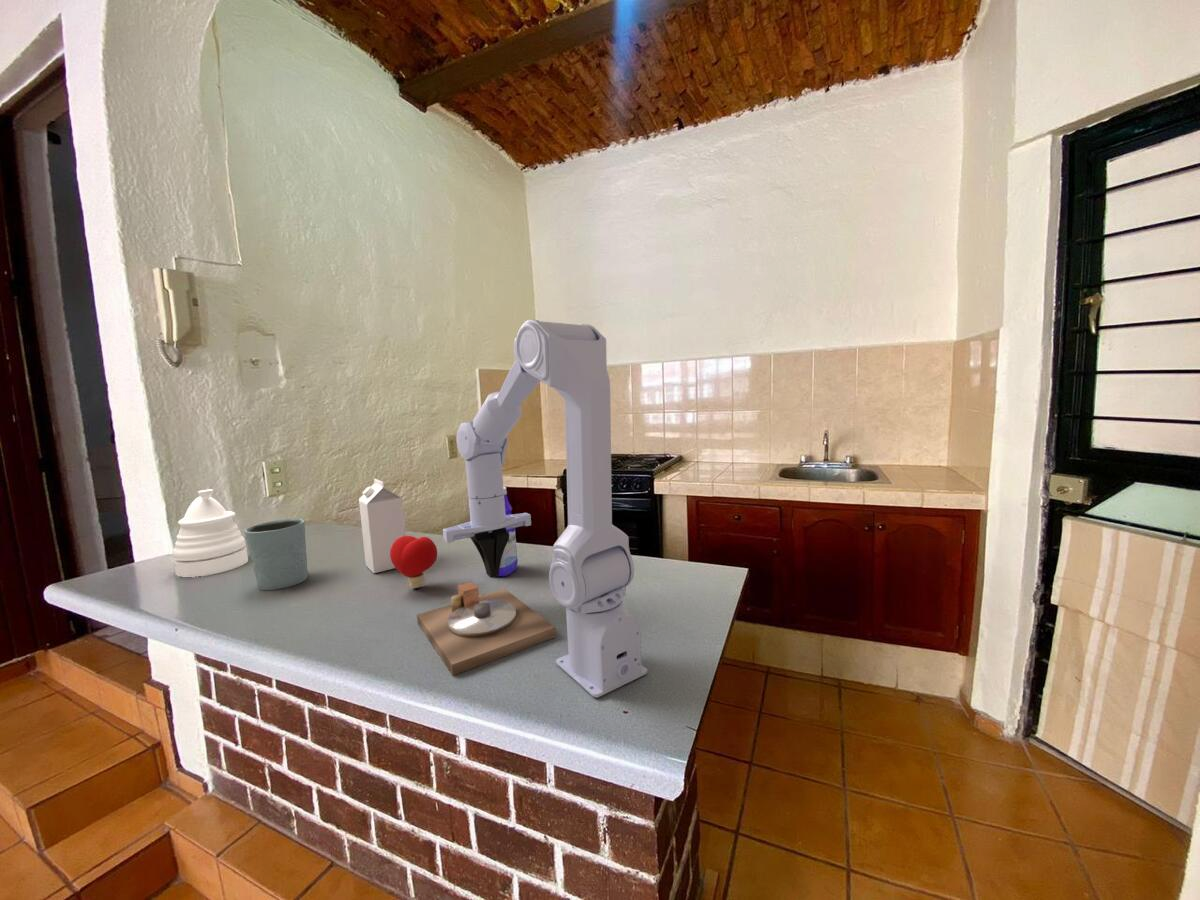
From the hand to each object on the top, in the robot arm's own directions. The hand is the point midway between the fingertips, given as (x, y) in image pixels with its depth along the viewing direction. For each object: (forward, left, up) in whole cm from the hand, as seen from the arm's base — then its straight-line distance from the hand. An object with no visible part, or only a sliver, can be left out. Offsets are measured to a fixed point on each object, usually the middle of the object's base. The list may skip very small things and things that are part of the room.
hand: (492, 574), depth 78 cm
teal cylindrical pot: (+41, +30, -6) cm, 50 cm away
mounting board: (-6, +5, -6) cm, 10 cm away
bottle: (+15, -7, -6) cm, 17 cm away
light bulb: (+18, +9, -6) cm, 20 cm away
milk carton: (+36, +11, -6) cm, 37 cm away
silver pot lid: (-5, +5, -4) cm, 8 cm away
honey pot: (+64, +43, -6) cm, 77 cm away
